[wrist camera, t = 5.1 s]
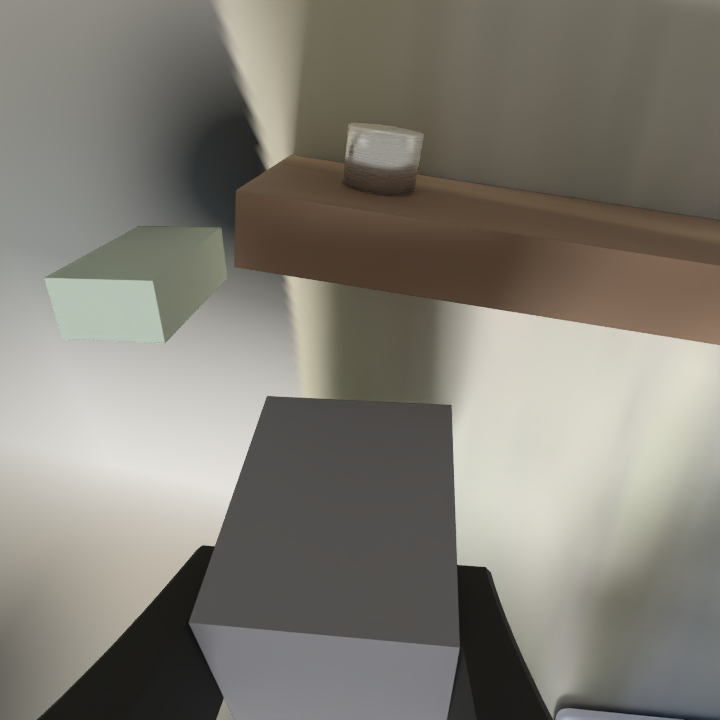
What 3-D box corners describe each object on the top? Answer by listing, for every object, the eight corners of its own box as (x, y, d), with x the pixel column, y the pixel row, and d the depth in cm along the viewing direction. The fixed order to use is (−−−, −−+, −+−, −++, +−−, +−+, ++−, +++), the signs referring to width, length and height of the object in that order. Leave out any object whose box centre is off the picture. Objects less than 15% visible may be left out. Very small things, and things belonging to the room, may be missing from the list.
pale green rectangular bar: (953, 296, 15) (1148, 381, 11) (148, 275, 17) (62, 339, 13) (982, 240, 14) (1202, 309, 10) (138, 225, 16) (44, 278, 12)
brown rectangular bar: (805, 293, 15) (953, 382, 11) (287, 212, 15) (234, 266, 11) (862, 190, 13) (1056, 245, 9) (294, 105, 14) (237, 121, 10)
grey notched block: (432, 597, 17) (431, 803, 13) (302, 586, 17) (264, 783, 13) (451, 405, 12) (460, 647, 8) (267, 396, 12) (188, 622, 8)
